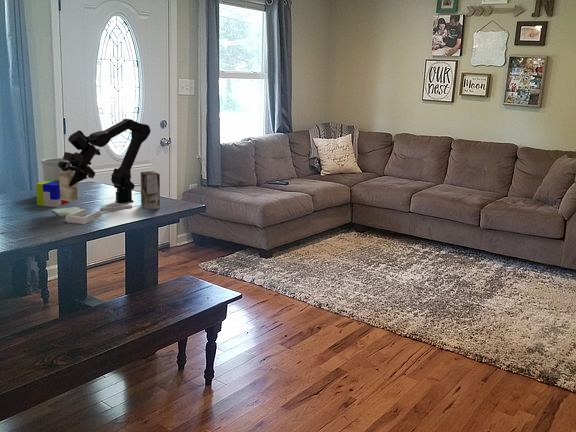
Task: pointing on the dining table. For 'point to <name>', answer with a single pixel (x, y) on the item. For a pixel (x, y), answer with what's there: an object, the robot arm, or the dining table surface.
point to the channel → (78, 218)
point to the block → (67, 186)
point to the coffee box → (150, 190)
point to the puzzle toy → (49, 193)
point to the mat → (66, 211)
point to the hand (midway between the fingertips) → (65, 185)
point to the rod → (116, 207)
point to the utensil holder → (52, 168)
